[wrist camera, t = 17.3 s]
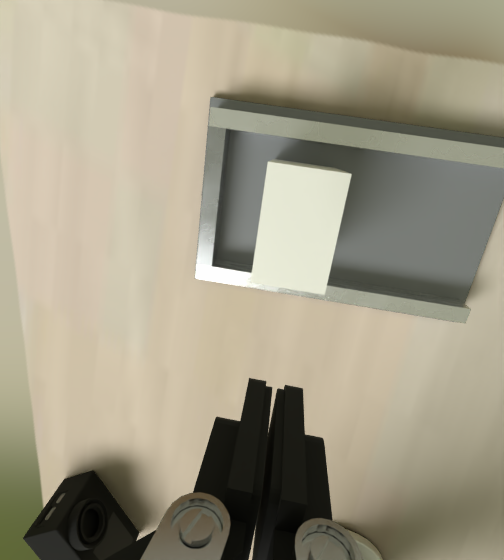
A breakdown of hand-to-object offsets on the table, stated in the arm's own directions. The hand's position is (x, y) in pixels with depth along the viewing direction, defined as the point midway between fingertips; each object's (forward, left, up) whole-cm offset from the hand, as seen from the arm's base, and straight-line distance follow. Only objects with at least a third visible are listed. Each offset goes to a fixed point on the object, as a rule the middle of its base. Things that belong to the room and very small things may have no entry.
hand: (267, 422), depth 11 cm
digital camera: (-8, +36, -20) cm, 42 cm away
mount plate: (-1, -5, -20) cm, 21 cm away
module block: (+2, -3, -19) cm, 20 cm away
